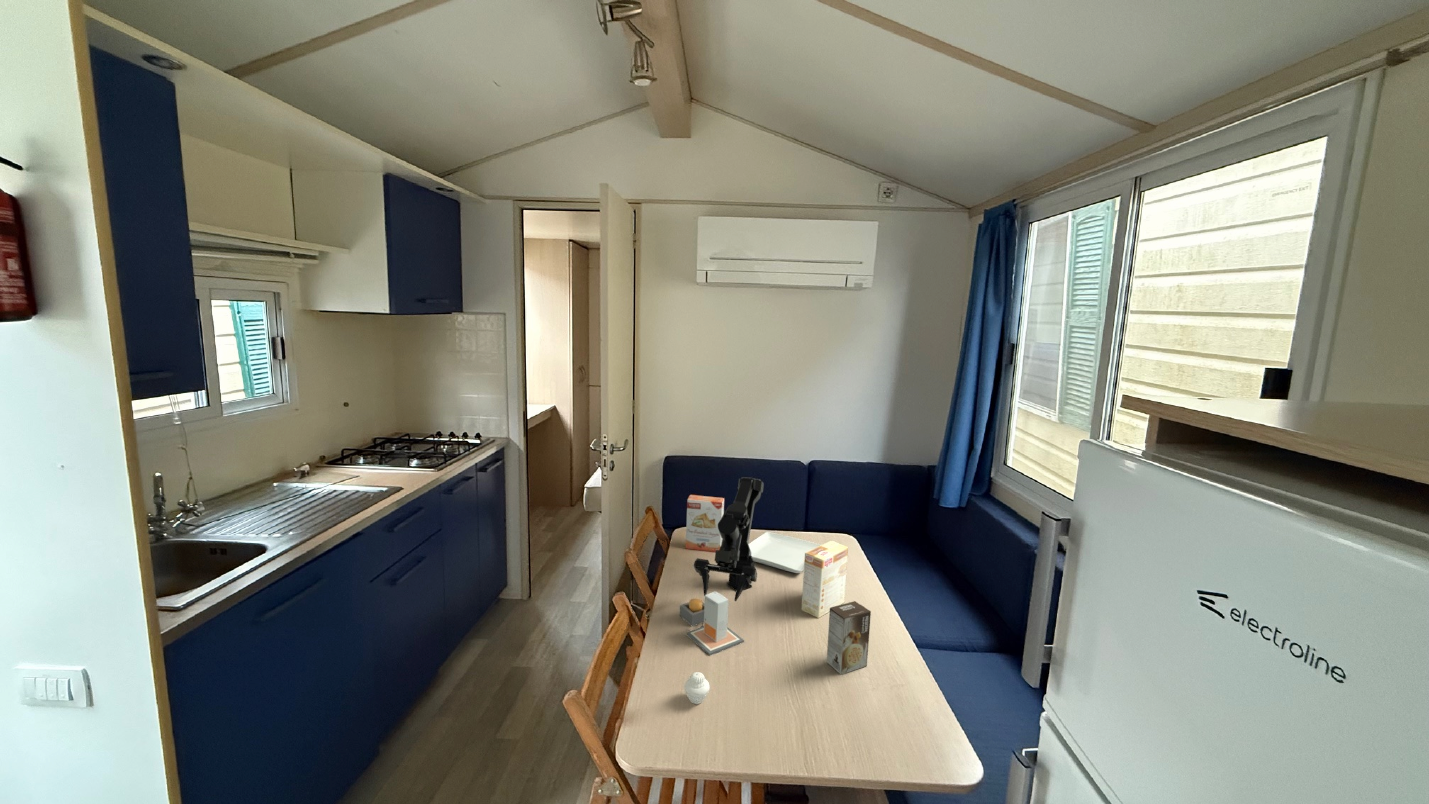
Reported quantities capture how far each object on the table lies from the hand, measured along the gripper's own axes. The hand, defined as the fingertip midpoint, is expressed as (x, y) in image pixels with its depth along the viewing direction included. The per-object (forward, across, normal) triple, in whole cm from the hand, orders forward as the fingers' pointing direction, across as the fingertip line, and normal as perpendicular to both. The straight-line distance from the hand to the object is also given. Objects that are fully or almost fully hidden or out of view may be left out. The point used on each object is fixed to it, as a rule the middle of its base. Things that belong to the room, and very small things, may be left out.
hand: (719, 598), depth 164 cm
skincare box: (+10, 0, +4) cm, 10 cm away
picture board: (+10, 0, +4) cm, 11 cm away
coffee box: (+11, +37, +4) cm, 39 cm away
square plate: (-32, +11, +48) cm, 59 cm away
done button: (+3, -9, +9) cm, 12 cm away
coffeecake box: (-9, +29, +24) cm, 39 cm away
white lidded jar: (+29, +2, -15) cm, 33 cm away
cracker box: (-31, -20, +46) cm, 59 cm away
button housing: (+4, -8, +10) cm, 14 cm away
